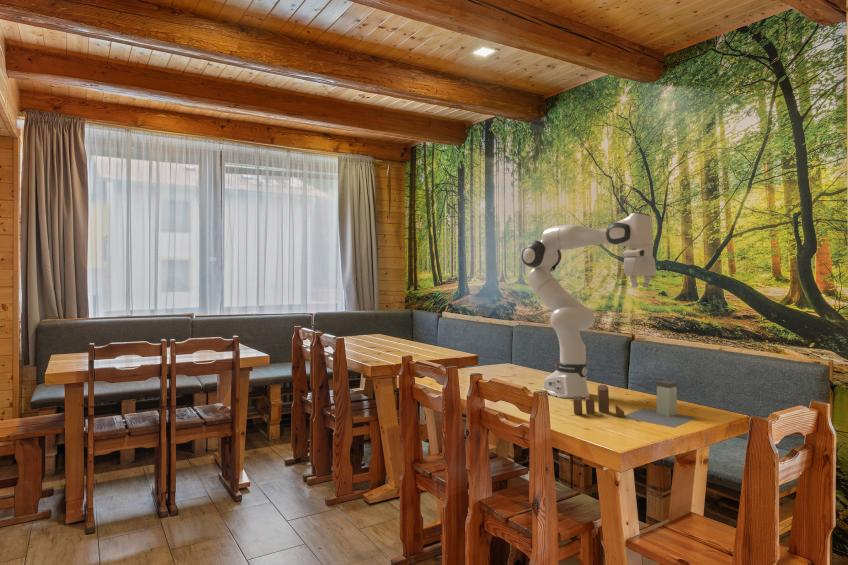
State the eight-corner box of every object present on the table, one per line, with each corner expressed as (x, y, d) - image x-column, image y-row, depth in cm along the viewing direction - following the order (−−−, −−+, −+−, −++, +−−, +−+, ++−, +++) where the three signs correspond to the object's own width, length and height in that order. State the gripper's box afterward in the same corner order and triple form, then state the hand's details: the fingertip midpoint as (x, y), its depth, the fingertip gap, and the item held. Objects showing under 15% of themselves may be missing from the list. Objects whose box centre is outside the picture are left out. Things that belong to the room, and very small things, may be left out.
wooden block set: (574, 420, 208) (573, 397, 205) (573, 407, 216) (572, 384, 213) (625, 420, 204) (624, 396, 200) (622, 407, 212) (621, 384, 208)
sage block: (656, 413, 209) (656, 381, 208) (664, 411, 211) (664, 380, 211) (669, 416, 204) (669, 383, 204) (676, 414, 207) (676, 382, 207)
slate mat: (619, 418, 204) (619, 416, 204) (644, 409, 217) (644, 408, 217) (674, 429, 189) (674, 427, 189) (697, 419, 203) (697, 417, 203)
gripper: (644, 253, 231) (644, 286, 231) (621, 252, 217) (620, 287, 217) (659, 253, 226) (659, 287, 226) (636, 251, 212) (636, 287, 212)
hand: (640, 287), depth 221 cm, fingers open, 8 cm apart
